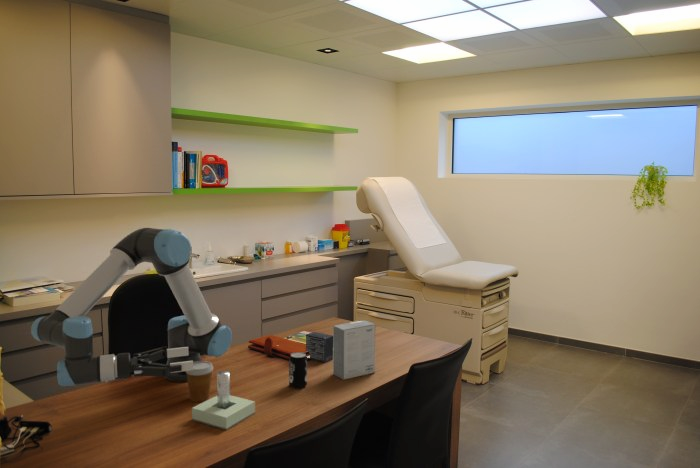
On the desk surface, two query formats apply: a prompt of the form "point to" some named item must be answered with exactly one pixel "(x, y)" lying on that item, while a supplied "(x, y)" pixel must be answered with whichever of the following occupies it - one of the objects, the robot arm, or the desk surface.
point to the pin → (223, 389)
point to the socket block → (223, 412)
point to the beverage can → (298, 370)
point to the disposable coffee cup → (200, 380)
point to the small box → (319, 346)
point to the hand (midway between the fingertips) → (190, 357)
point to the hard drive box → (353, 349)
